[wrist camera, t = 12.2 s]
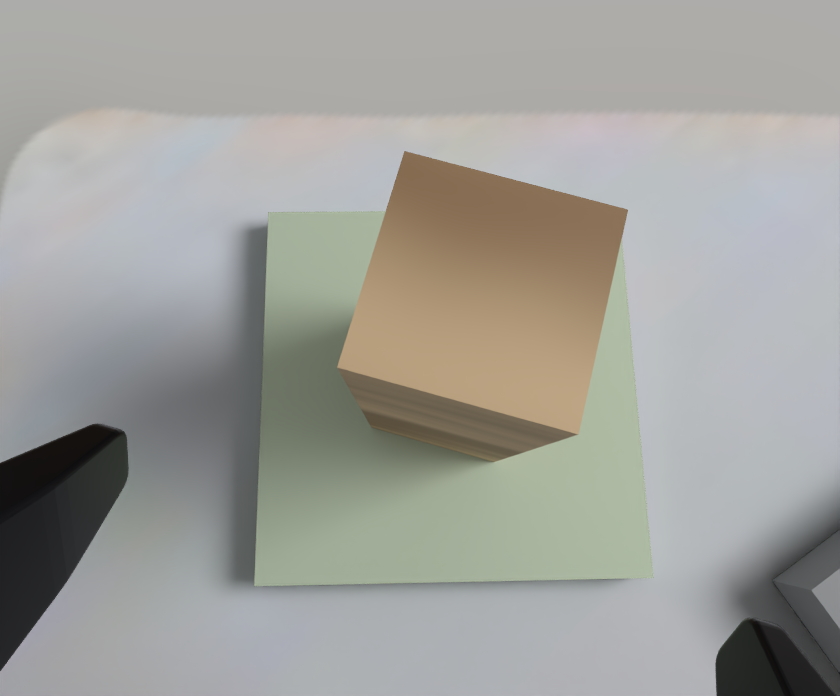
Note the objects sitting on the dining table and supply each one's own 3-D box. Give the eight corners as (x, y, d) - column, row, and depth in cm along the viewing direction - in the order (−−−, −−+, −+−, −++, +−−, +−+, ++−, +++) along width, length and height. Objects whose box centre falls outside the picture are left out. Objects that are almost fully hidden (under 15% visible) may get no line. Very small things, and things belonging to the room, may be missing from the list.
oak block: (494, 462, 20) (578, 434, 10) (371, 427, 20) (337, 367, 10) (523, 342, 21) (627, 209, 11) (406, 310, 21) (404, 151, 11)
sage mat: (641, 573, 20) (653, 577, 19) (261, 581, 20) (254, 586, 19) (610, 221, 23) (619, 209, 22) (274, 224, 22) (268, 212, 21)
